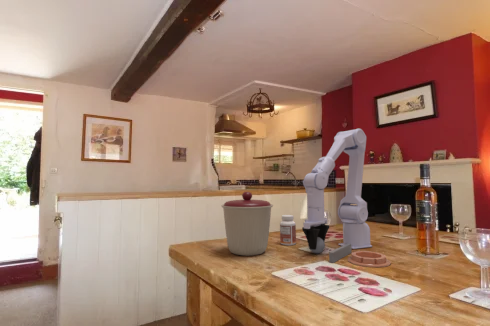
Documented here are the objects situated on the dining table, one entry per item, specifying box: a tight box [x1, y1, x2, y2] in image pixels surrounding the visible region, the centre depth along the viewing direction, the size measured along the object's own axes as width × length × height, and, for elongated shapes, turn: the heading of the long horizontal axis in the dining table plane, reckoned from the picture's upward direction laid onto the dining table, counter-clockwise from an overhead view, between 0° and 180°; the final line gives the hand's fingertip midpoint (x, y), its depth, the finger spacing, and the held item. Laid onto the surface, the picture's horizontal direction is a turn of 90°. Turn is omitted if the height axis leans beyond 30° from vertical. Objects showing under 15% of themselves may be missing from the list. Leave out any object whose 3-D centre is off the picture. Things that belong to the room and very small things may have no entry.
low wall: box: [328, 243, 353, 264], centre depth 94 cm, size 16×1×3 cm, turn 141°
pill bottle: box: [279, 214, 297, 246], centre depth 115 cm, size 6×6×11 cm
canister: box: [221, 191, 274, 257], centre depth 102 cm, size 18×18×21 cm
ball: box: [307, 237, 326, 254], centre depth 100 cm, size 6×6×6 cm
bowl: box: [347, 250, 391, 268], centre depth 89 cm, size 12×12×2 cm
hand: (316, 247), depth 100 cm, fingers closed on ball, 5 cm apart
